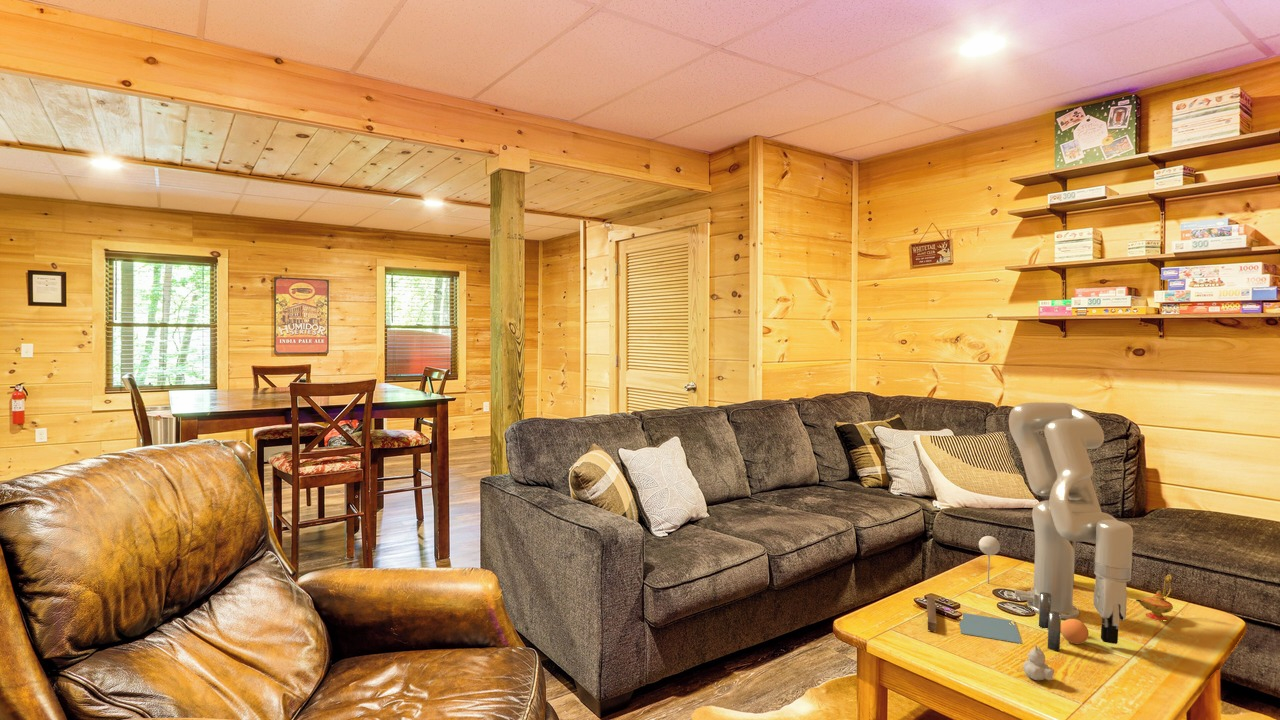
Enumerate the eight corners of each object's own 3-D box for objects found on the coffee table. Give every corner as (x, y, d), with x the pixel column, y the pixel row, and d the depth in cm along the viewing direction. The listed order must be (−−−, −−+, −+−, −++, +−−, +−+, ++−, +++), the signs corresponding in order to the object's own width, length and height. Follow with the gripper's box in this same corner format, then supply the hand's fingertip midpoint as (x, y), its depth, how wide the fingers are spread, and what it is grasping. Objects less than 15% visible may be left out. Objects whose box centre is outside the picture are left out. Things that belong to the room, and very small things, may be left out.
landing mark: (960, 633, 173) (960, 632, 173) (957, 612, 186) (958, 611, 186) (1021, 643, 168) (1021, 643, 168) (1014, 621, 181) (1014, 620, 181)
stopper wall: (927, 631, 174) (928, 622, 174) (927, 605, 191) (927, 596, 191) (936, 632, 174) (936, 623, 174) (934, 606, 190) (934, 597, 190)
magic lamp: (1122, 620, 182) (1124, 581, 182) (1155, 607, 191) (1157, 570, 190) (1150, 630, 176) (1152, 589, 176) (1184, 616, 185) (1186, 578, 184)
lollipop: (990, 588, 204) (992, 540, 203) (973, 581, 209) (974, 535, 208) (1003, 584, 207) (1004, 537, 206) (985, 578, 212) (987, 532, 211)
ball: (1090, 623, 165) (1094, 647, 165) (1080, 614, 171) (1084, 637, 171) (1064, 625, 166) (1068, 648, 166) (1055, 615, 172) (1058, 638, 172)
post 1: (1039, 628, 177) (1040, 595, 176) (1038, 624, 179) (1039, 591, 179) (1050, 629, 176) (1052, 596, 175) (1049, 625, 178) (1050, 593, 178)
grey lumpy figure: (1030, 670, 155) (1032, 636, 155) (1060, 683, 149) (1061, 649, 149) (1017, 675, 152) (1018, 642, 152) (1046, 689, 147) (1047, 654, 146)
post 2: (1048, 649, 165) (1049, 614, 164) (1046, 645, 167) (1047, 610, 167) (1060, 651, 164) (1062, 616, 163) (1058, 647, 166) (1060, 612, 166)
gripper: (1087, 558, 174) (1084, 626, 175) (1102, 578, 160) (1099, 652, 161) (1121, 562, 171) (1118, 631, 172) (1140, 583, 157) (1136, 658, 158)
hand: (1109, 641), depth 167 cm, fingers closed
